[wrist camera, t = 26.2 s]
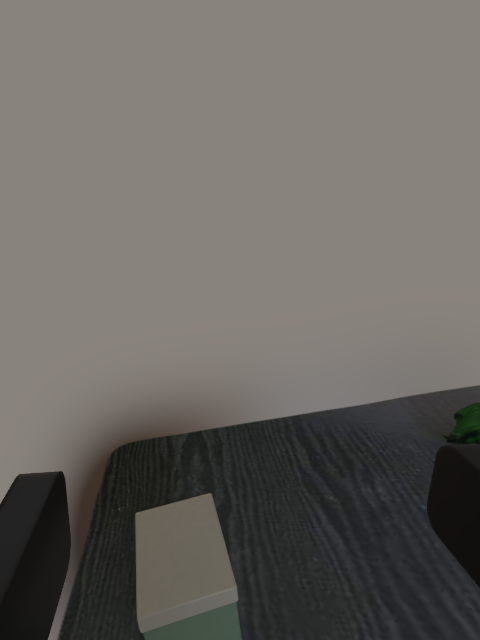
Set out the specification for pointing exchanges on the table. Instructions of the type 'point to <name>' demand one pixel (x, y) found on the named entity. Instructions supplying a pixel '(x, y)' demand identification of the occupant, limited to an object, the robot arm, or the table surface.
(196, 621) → the green lidded canister
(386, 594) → the table surface
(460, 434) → the snack package
